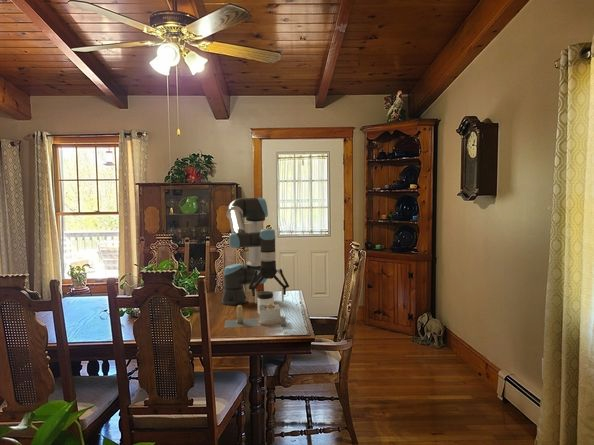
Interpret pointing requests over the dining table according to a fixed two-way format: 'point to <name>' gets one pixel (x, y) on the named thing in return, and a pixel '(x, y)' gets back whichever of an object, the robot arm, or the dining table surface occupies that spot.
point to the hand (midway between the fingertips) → (269, 302)
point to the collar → (269, 314)
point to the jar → (265, 299)
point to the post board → (249, 320)
